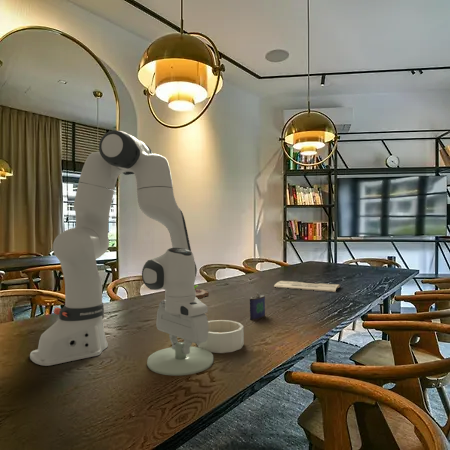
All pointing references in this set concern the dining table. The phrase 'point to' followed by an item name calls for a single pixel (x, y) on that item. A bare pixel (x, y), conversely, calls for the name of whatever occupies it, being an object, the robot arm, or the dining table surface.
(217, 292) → the dining table surface
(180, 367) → the lid
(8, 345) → the dining table surface
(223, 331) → the bowl
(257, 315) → the flask
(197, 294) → the plant
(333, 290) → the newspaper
